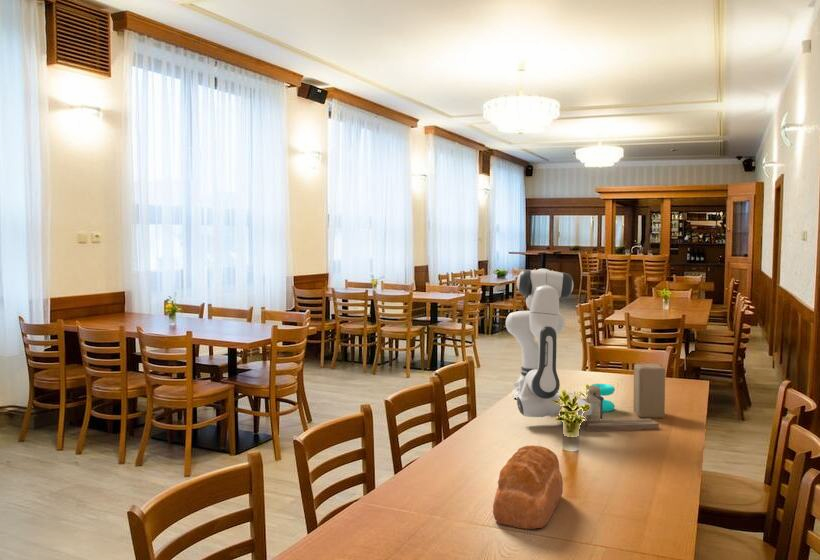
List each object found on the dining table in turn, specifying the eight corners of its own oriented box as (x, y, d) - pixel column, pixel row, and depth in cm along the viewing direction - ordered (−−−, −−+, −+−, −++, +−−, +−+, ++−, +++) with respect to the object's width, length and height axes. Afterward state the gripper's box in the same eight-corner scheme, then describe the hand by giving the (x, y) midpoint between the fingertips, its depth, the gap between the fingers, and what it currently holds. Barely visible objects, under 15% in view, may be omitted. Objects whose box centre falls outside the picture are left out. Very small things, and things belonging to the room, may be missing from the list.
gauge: (585, 421, 259) (586, 385, 259) (595, 421, 260) (596, 385, 259) (596, 429, 249) (596, 392, 248) (606, 429, 249) (607, 392, 248)
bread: (489, 524, 168) (489, 464, 167) (516, 488, 192) (516, 435, 191) (544, 534, 162) (544, 471, 161) (565, 495, 186) (565, 440, 185)
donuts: (591, 388, 272) (587, 382, 282) (591, 412, 273) (587, 406, 283) (617, 388, 272) (612, 383, 281) (616, 412, 272) (611, 406, 282)
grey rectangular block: (658, 412, 273) (658, 363, 271) (665, 418, 263) (665, 368, 261) (632, 411, 274) (633, 363, 272) (638, 418, 264) (639, 367, 262)
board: (583, 426, 253) (583, 420, 253) (650, 423, 256) (650, 418, 256) (590, 431, 246) (590, 425, 246) (658, 428, 249) (658, 423, 249)
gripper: (569, 403, 245) (605, 401, 247) (551, 390, 266) (585, 389, 267) (568, 420, 246) (605, 418, 247) (551, 406, 266) (585, 405, 268)
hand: (595, 403), depth 257 cm, fingers open, 4 cm apart
